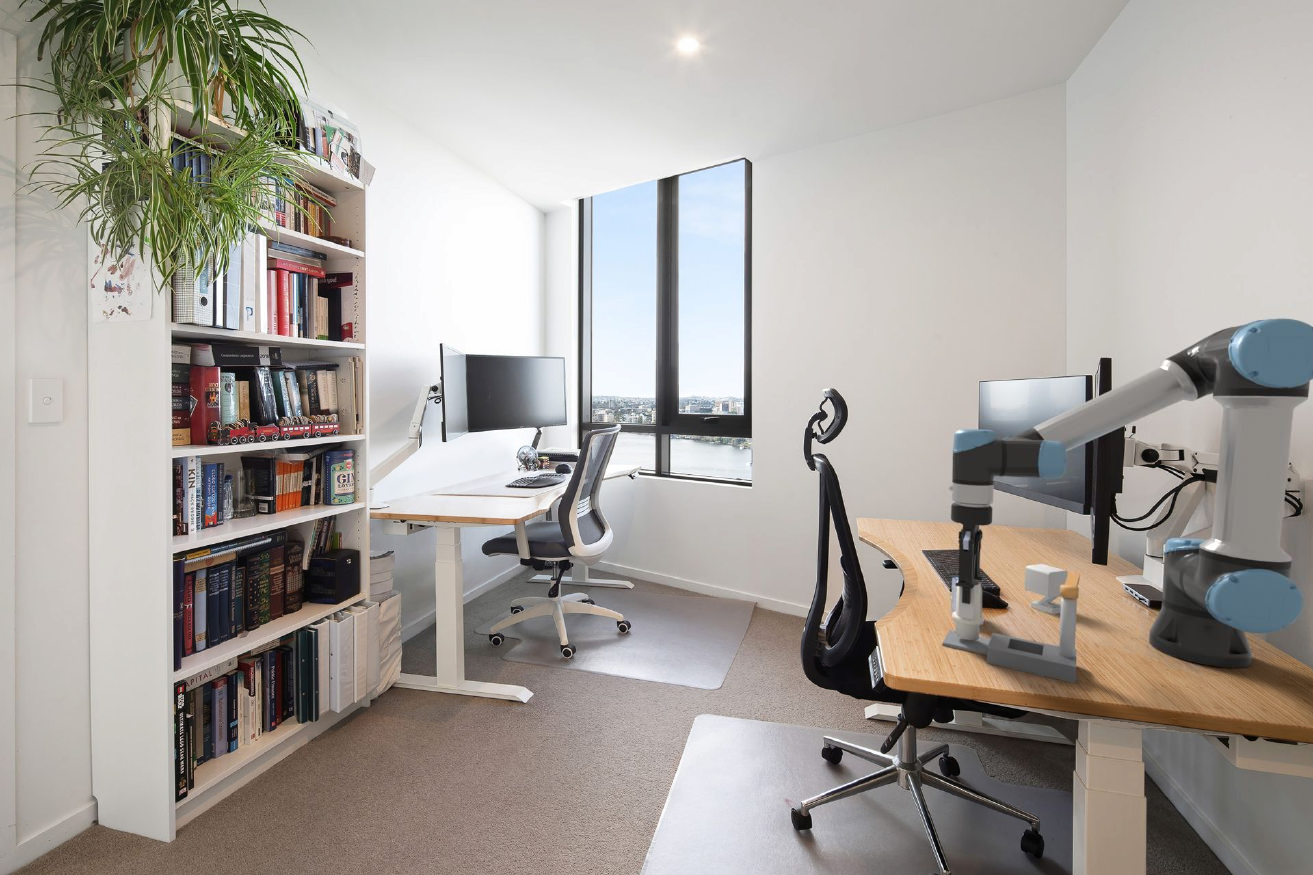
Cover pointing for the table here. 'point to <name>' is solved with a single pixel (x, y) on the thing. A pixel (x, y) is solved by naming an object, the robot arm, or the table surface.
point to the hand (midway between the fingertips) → (968, 613)
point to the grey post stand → (1040, 650)
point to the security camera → (1045, 586)
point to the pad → (967, 643)
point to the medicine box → (954, 596)
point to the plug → (968, 626)
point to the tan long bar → (1070, 586)
